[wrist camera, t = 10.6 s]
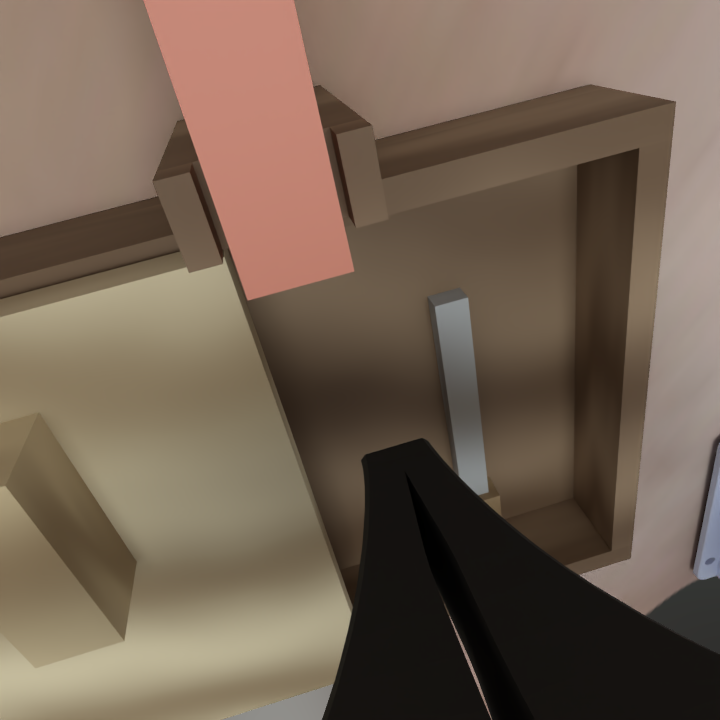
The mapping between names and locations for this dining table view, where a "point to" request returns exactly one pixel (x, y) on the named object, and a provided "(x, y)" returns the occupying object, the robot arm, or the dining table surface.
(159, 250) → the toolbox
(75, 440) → the lid
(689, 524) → the dining table surface
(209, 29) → the pink bar
